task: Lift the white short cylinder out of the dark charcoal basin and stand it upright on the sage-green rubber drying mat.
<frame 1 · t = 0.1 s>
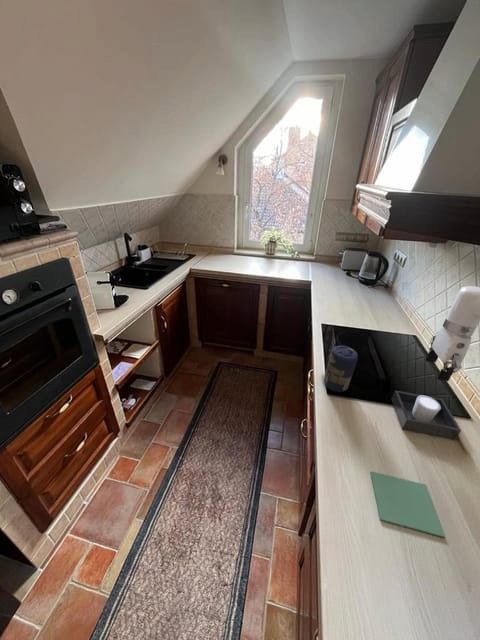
hand: (435, 370, 86), 17 cm above the worktop, tool pointing down, fingers open, 9 cm apart
basin: (420, 418, 89), on the worktop
white short cylinder: (420, 417, 89), point 1 cm above the worktop, touching basin
drying mat: (403, 502, 66), on the worktop
canister: (335, 385, 102), on the worktop
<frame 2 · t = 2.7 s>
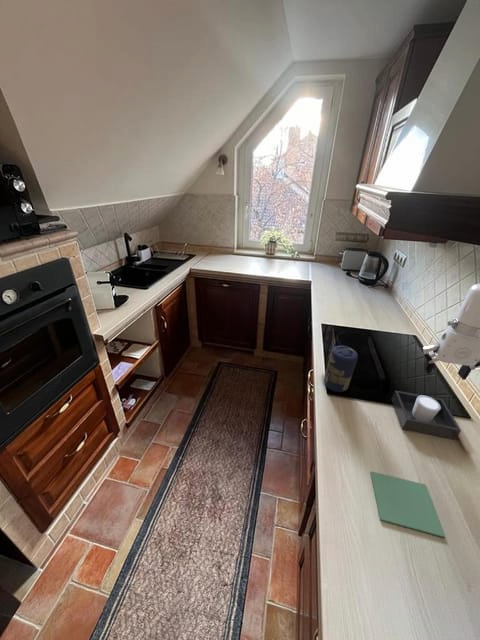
hand: (443, 373, 80), 20 cm above the worktop, tool pointing down, fingers open, 9 cm apart
nothing on the worktop moved.
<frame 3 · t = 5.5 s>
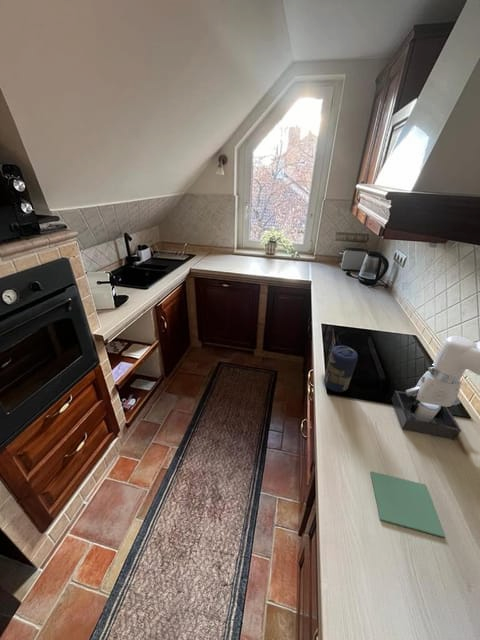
hand: (423, 412, 88), 3 cm above the worktop, tool pointing down, fingers closed on white short cylinder, 6 cm apart
white short cylinder: (420, 417, 89), point 1 cm above the worktop, touching basin, gripper
everything else where it was.
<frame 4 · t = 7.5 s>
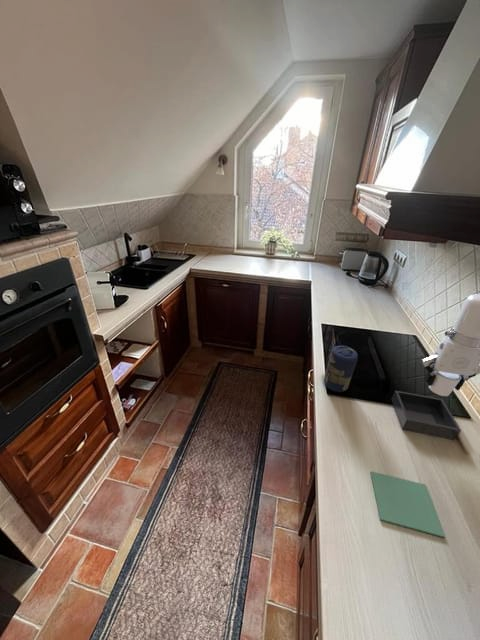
hand: (441, 384, 80), 17 cm above the worktop, tool pointing down, fingers closed on white short cylinder, 6 cm apart
white short cylinder: (438, 390, 81), point 14 cm above the worktop, touching gripper
everything else where it was.
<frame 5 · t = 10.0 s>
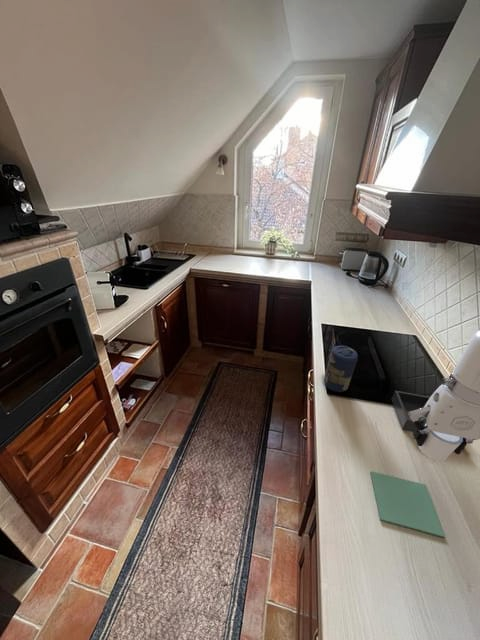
hand: (435, 444, 59), 19 cm above the worktop, tool pointing down, fingers closed on white short cylinder, 6 cm apart
white short cylinder: (431, 450, 60), point 17 cm above the worktop, touching gripper
everything else where it was.
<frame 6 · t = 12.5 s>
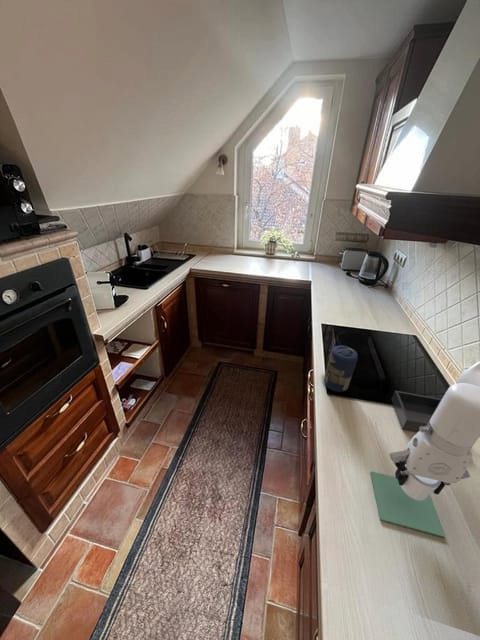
hand: (416, 483, 61), 9 cm above the worktop, tool pointing down, fingers closed on white short cylinder, 6 cm apart
white short cylinder: (412, 488, 63), point 6 cm above the worktop, touching gripper
everything else where it was.
when the fingers open (3 cm above the worktop, at t = 14.5 s): white short cylinder stays where it is, resting on drying mat.
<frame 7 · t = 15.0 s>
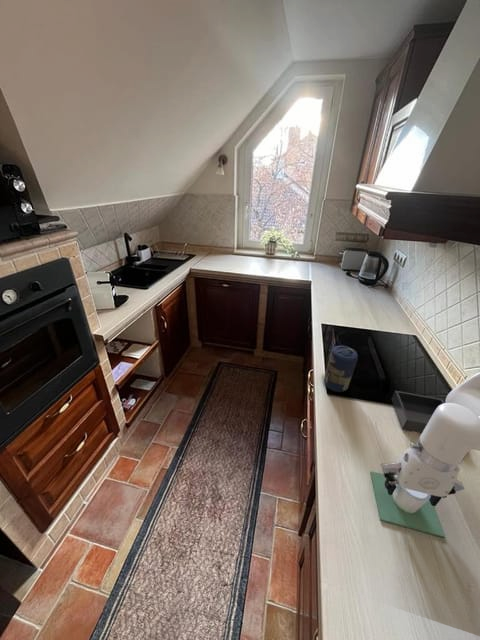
hand: (409, 494, 64), 4 cm above the worktop, tool pointing down, fingers open, 9 cm apart
white short cylinder: (404, 501, 66), resting on drying mat
everything else where it was.
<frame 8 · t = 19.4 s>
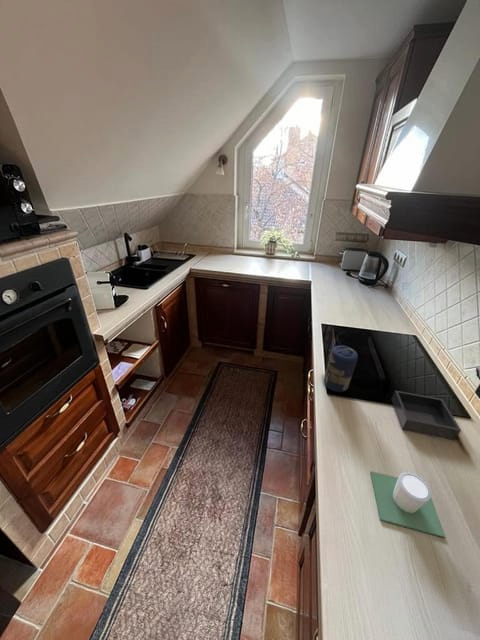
nothing on the worktop moved.
at the end: white short cylinder inside the target area on the drying mat (0.1 cm from its centre), point 0.4 cm above the drying mat's base; white short cylinder tilted 0°; the gripper is holding nothing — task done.
